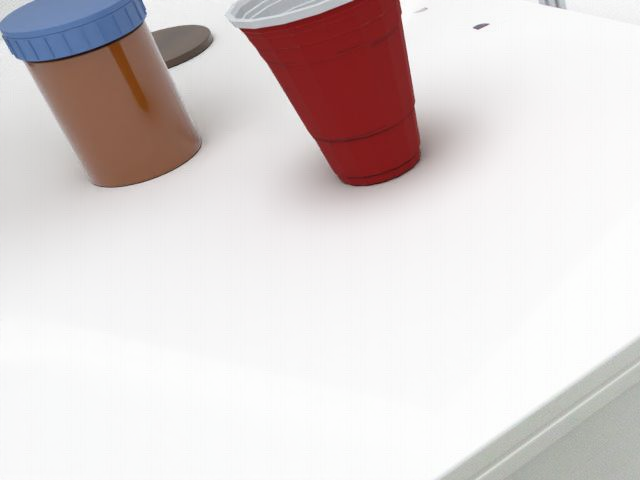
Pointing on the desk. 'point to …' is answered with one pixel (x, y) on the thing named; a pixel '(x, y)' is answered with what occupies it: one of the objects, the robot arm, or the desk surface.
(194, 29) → the coaster
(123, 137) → the jar
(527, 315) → the desk surface
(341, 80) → the plastic cup
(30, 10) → the lid
